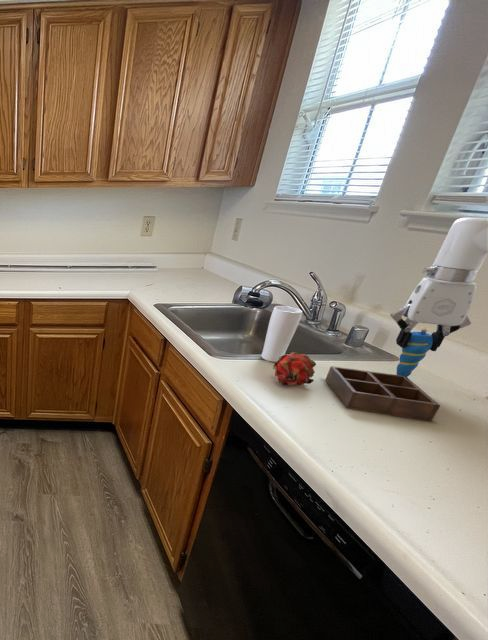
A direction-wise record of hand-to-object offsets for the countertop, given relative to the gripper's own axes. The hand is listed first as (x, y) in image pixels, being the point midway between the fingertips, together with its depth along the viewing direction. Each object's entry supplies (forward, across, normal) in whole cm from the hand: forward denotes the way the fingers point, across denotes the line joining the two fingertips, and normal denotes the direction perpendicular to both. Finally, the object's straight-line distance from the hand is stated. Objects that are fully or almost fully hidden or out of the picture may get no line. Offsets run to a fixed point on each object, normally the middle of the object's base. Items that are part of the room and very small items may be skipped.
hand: (415, 346), depth 104 cm
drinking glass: (+10, -28, +4) cm, 30 cm away
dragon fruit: (+10, -27, -12) cm, 31 cm away
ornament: (+10, 0, 0) cm, 10 cm away
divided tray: (+10, -10, -14) cm, 20 cm away
